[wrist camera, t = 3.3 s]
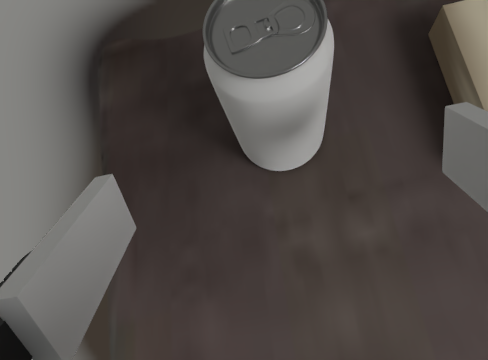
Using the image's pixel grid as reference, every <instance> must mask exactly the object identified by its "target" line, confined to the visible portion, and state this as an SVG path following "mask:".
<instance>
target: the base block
mask: <svg viewBox="0 0 488 360" xmlns="http://www.w3.org/2000/svg"><path fill="white" fill-rule="evenodd" d="M428 36H429V38H430V41H431V44H432V46H433V49H434V52H435V55H436V57H437V60H438V63H439V65H440V68H441V71H442V73H443V76H444V79H445V82H446V84H447V87H448V90H449V92H450V95H451V98H452V100H453V103H454V104H459V103H464V102H468V103H470V104H472V105H475V106H477V107H479V108H481V109H483V110H485V111H488V0H464V1H460V2H455V3H451V4H447V5H443V6H442V8H441V10H440V12H439V14H438V16H437V18H436V20H435V22H434V24H433V26H432V28H431V30H430V32H429V34H428Z"/></svg>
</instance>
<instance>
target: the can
mask: <svg viewBox="0 0 488 360" xmlns="http://www.w3.org/2000/svg"><path fill="white" fill-rule="evenodd" d="M203 40H204V62H205V66H206V70H207V73H208V76H209V78H210V80H211V83H212V85H213V87H214V90H215V92H216V94H217V96H218V98H219V101H220V103H221V105H222V107H223V109H224V112H225V114H226V116H227V118H228V120H229V122H230V125H231V127H232V129H233V131H234V133H235V135H236V137H237V139H238V142H239V144H240V146H241V148H242V150H243V151H244V153H245V154H246V156H247V157H248V158H249V159H250V160H251V161H252V162H253V163H255V164H256V165H258V166H260V167H262V168H265V169H268V170H273V171H286V170H291V169H294V168H297V167H299V166H301V165H303V164H305V163H306V162H307V161H309V160H310V159H311V158H312V157H313V156H314V155H315V153H316V152H317V150H318V149H319V147H320V145H321V142H322V139H323V134H324V127H325V120H326V113H327V105H328V97H329V89H330V81H331V73H332V64H333V54H334V36H333V31H332V27H331V24H330V22H329V20H328V16H327V9H326V6H325V3H324V1H323V0H214V2H213V3H212V4H211V6H210V8H209V10H208V12H207V14H206V16H205V20H204V24H203Z"/></svg>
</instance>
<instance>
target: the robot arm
mask: <svg viewBox="0 0 488 360" xmlns="http://www.w3.org/2000/svg"><path fill="white" fill-rule="evenodd" d="M442 172H443V173H444V174H445V175H446V176H447V177H449V178H450V179H451V180H452V181H453V182H454V183H455V184H456V185H458V186H459V187H460V188H461V189H462V190H463V191H464V192H466V193H467V194H468V195H469V196H470V197H471V198H472V199H473V200H475V201H476V202H477V203H478V204H479V205H480V206H481V207H483V208H484V209H485V210H486V211H487V212H488V111H485V110H483V109H481V108H479V107H477V106H475V105H472V104H470V103H468V102H464V103H459V104H454V105H449V106H445V118H444V140H443V162H442ZM135 230H136V226H135V223H134V221H133V219H132V217H131V214H130V212H129V210H128V208H127V205H126V203H125V201H124V198H123V196H122V194H121V192H120V189H119V187H118V185H117V183H116V180H115V178H114V176H113V174H109V175H104V176H99V177H95V178H94V179H93V181H92V182H91V183H90V184H89V185H88V186H87V188H86V189H85V190H84V191H83V192H82V193H81V194H80V196H79V197H78V198H77V199H76V200H75V202H74V203H73V204H72V205H71V206H70V207H69V209H67V211H66V212H65V213H64V214H63V215H62V216H61V218H60V219H59V220H58V221H57V222H56V224H55V225H54V226H53V227H52V228H51V229H50V230H49V232H48V233H47V234H46V235H45V236H44V237H43V239H42V240H41V241H40V242H39V243H38V244H37V246H36V247H35V248H34V249H33V250H32V251H31V252H29V253H28V254H27V255H26V256H24V257H23V258H22V259H21V260H20V261H19V262H18V263H17V265H16V266H15V267H14V268H13V269H12V272H10V273H9V274H8V275H7V276H6V277H5V278H4V281H3V282H1V283H0V360H31V359H33V360H72V359H73V357H74V355H75V353H76V351H77V349H78V347H79V345H80V343H81V341H82V339H83V337H84V334H85V332H86V330H87V328H88V326H89V324H90V322H91V320H92V318H93V316H94V314H95V312H96V310H97V308H98V305H99V304H100V302H101V300H102V298H103V295H104V293H105V291H106V289H107V287H108V285H109V283H110V281H111V279H112V277H113V275H114V273H115V271H116V269H117V267H118V265H119V263H120V261H121V259H122V257H123V255H124V252H125V250H126V248H127V246H128V244H129V242H130V240H131V238H132V236H133V234H134V232H135Z"/></svg>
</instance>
